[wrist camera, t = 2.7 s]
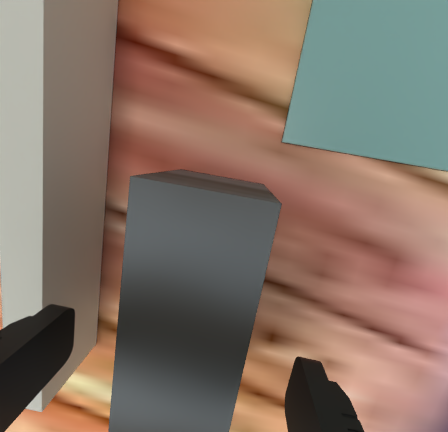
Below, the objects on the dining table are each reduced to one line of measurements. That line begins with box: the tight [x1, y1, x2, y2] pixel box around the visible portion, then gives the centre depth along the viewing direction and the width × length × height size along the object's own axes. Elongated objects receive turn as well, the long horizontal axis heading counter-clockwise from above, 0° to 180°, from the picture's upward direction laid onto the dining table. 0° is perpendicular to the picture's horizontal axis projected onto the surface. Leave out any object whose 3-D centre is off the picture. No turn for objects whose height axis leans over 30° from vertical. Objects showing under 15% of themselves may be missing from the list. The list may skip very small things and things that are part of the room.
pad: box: [282, 0, 448, 171], centre depth 13 cm, size 8×14×1 cm, turn 80°
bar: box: [108, 169, 282, 432], centre depth 13 cm, size 11×5×7 cm, turn 170°
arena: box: [0, 0, 118, 412], centre depth 12 cm, size 29×30×5 cm
